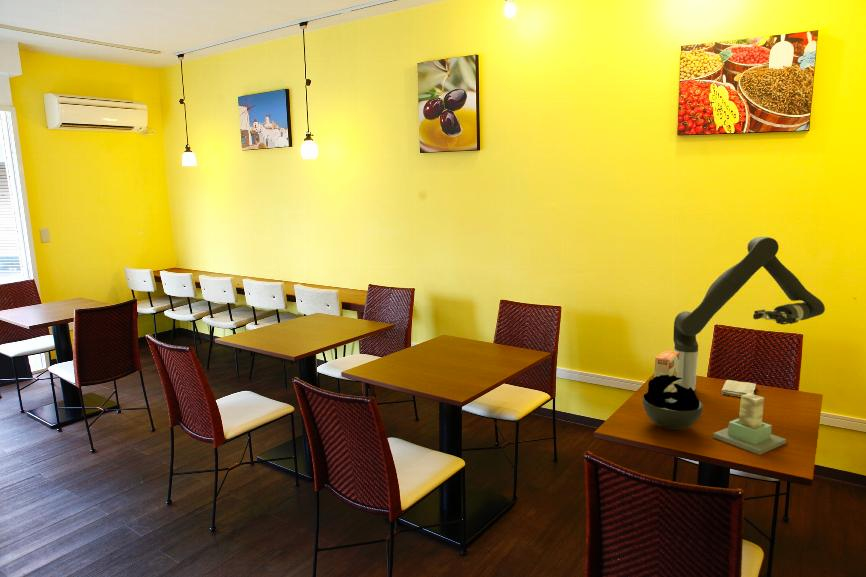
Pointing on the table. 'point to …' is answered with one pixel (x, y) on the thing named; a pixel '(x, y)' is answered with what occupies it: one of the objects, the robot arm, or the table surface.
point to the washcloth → (738, 388)
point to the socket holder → (750, 437)
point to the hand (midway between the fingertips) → (765, 318)
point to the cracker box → (667, 366)
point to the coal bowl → (671, 404)
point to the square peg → (751, 411)
